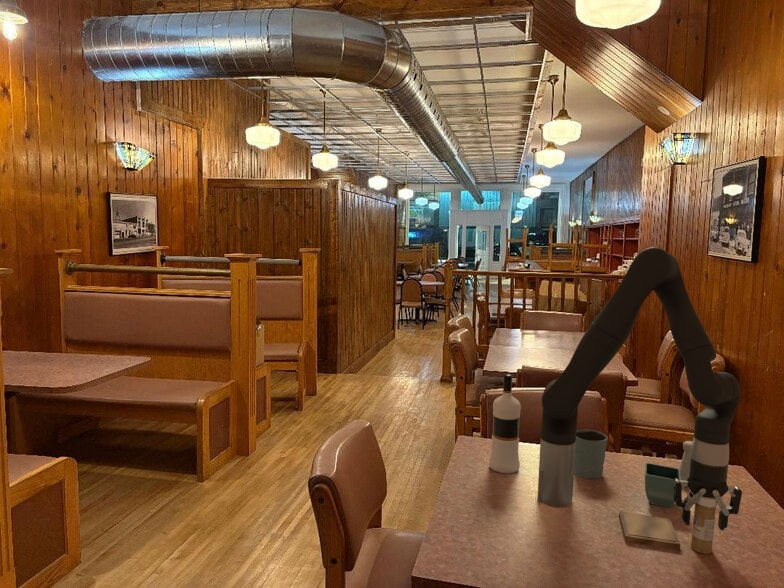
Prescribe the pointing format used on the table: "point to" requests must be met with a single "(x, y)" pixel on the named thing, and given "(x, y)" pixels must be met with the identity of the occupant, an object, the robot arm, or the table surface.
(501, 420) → the vodka
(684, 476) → the salt shaker
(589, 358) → the robot arm
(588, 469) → the green round cup
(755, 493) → the table surface
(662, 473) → the flower pot
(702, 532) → the sprinkles bottle
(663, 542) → the brown rectangular tray
